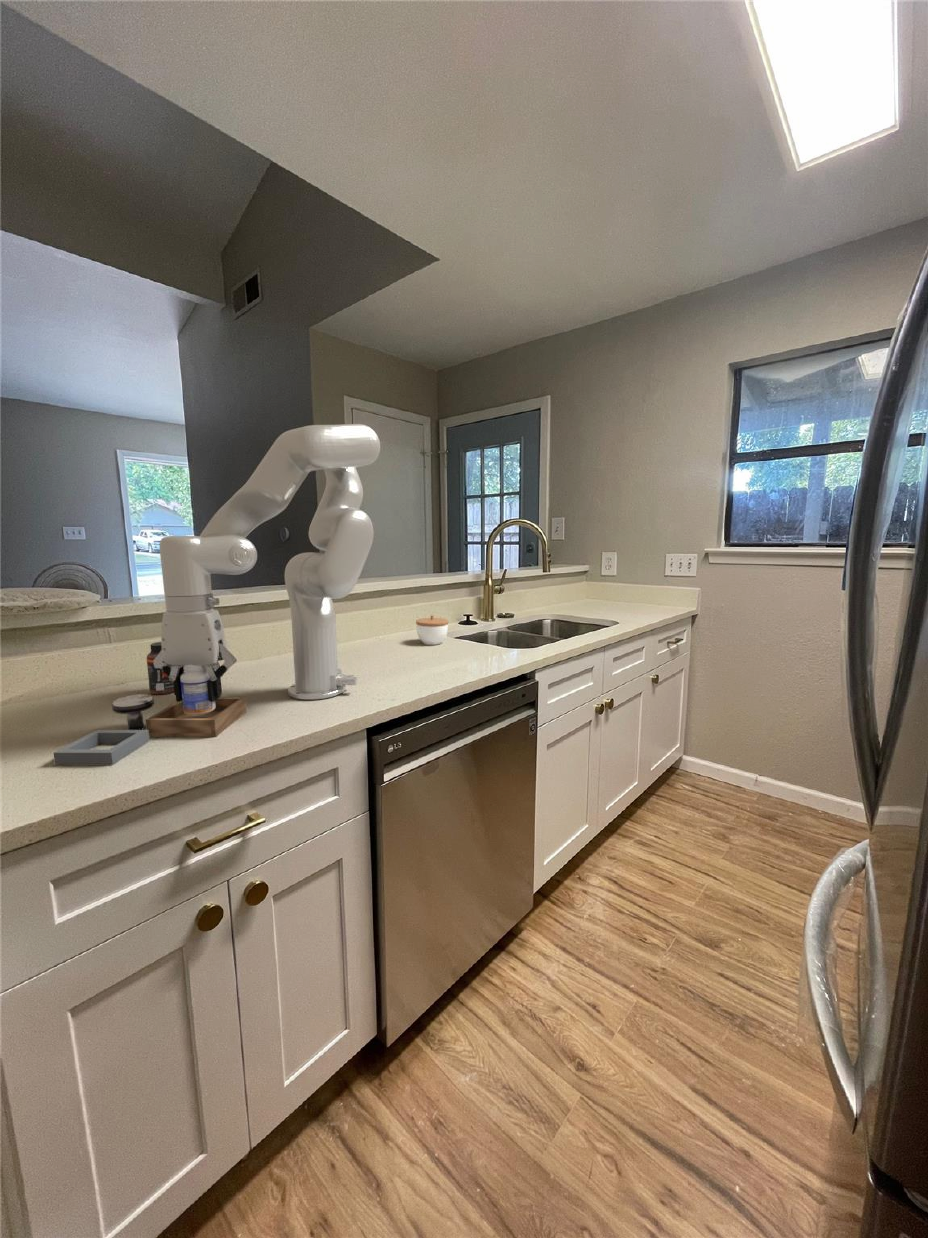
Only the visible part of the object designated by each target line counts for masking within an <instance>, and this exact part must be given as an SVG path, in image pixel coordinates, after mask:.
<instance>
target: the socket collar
mask: <svg viewBox="0 0 928 1238" xmlns="http://www.w3.org/2000/svg"><path fill="white" fill-rule="evenodd" d="M148 742H151V741H150V736H149V730H147V729H141V730H128V729H96V730H94V731H91V732H90V733H88V734H86V735H85V736H82V737H80V738H78V739H77V740H75V741H73V742H70V743H69V744H67V745H65V746H63V747H61V748H60V749H57V750H55V751H54V752H53V759H54V765H57V766H59V765H60V766H62V765H64V766H67V765H69V766H71V765H72V766H73V765H76V766H78V765H81V766H83V765H84V766H85V765H86V766H90V765H91V766H96V765H97V766H100V765H101V766H103V765H104V766H105V765H106V766H109V765H110V766H113V765H115V764H116V763H118V762H120V761H121V760H123V759H124V758H126V757H127V756H128V755H130V754H132V753H133V752H135V751H137V750H138V749H139V748H141V747H142V746H144V745H145V744H147V743H148ZM100 744H101V745H105V744H107V745H111V744H114V745H113V747H111V748H109V749H107V748H106V749H105V748H104V749H101V748H99V749H98V748H97V749H96V748H95V749H93V748H94V747H97V746H98V745H100ZM115 744H116V745H115Z"/></svg>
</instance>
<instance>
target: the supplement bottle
mask: <svg viewBox="0 0 928 1238" xmlns="http://www.w3.org/2000/svg"><path fill="white" fill-rule="evenodd" d="M161 650H162V645H161V641H158V642H157V641H156V642H153V643H150V652H149V653H148V654H146V666H147V667H146V668H147V675H148V676H147V677H148V686H149V693H151V694H153V695H167V694H172V693H173V694H174V685H173V681H171V680H170V679H169V676H168V675H167V674H166V673H164V672H163V670H162V669H160V668H159V667H158V666H157V665H155V664H154V663H153V661H154V659H155V658H156V657H157V655H158V654H159V653H160V651H161Z"/></svg>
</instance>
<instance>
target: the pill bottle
mask: <svg viewBox="0 0 928 1238" xmlns="http://www.w3.org/2000/svg"><path fill="white" fill-rule="evenodd" d="M183 669H184V670H185V673H183V674H182V675H181V677H180V680H181V690H182V700H183V710H184V713H185V714H187V715H202V714H206V713H209V712H211V711H213V710H214V709H215V708H216V703H215V701H214V702H210V701H209V697H208V687H207V682H208V681H209V680H210V678H209V676H208V673H207V671H206V669H205V667H204V666H196V665H185V666H184V668H183Z"/></svg>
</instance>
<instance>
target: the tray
mask: <svg viewBox="0 0 928 1238" xmlns="http://www.w3.org/2000/svg"><path fill="white" fill-rule="evenodd" d="M215 703H216V708H215V709H214V710H213V711H211V712H209V713H206V714H202V715H187V714H185V713H184V710H183V700H182V701H180V702H177V701H176V702H174V703H173V704H170V705H169V706H168V707H166V708H164V709H162V710H161V711H159V712H157V713H155V714H153V715H152V716H149V717H148V718H146V719H145V725H146V730H149V737H182V738H184V737H186V738H188V737H194V738H195V737H197V738H198V737H200V738H204V737H207V738H208V737H212V738H213V737H217V736H219V735H220V734H222V733H223V732H224V731H225V730H227V729H228V727H230V726H231V725H232V724H234V723H235V722H236V721H238V720H239V719H240V718H241V717H243V716H244V715H245V714H246V713H247V704H246V703H247V702H246V697H226V696H225V697H221V696H220V698H218V699H217V700H215Z"/></svg>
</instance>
